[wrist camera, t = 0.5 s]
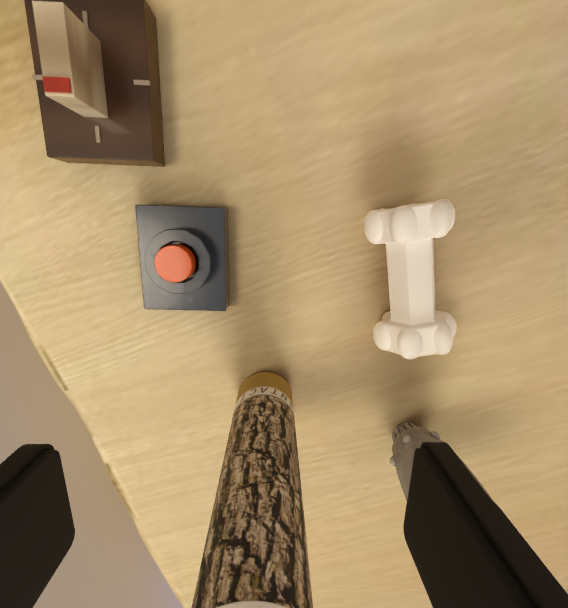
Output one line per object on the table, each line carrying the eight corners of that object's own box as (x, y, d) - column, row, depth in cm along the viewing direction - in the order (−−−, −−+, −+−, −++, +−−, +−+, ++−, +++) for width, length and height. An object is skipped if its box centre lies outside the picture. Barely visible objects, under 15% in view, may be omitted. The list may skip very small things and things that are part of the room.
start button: (159, 243, 31) (152, 244, 29) (195, 244, 31) (191, 245, 29) (161, 279, 32) (155, 282, 30) (197, 280, 32) (192, 283, 30)
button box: (143, 205, 33) (126, 203, 30) (227, 208, 34) (221, 206, 30) (151, 304, 36) (136, 313, 32) (228, 306, 37) (223, 315, 33)
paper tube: (287, 419, 41) (306, 707, 17) (236, 414, 40) (178, 702, 16) (295, 372, 39) (328, 617, 15) (241, 366, 39) (184, 608, 14)
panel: (46, 11, 29) (19, -13, 26) (157, 18, 29) (143, -6, 26) (66, 162, 32) (44, 156, 29) (165, 166, 33) (154, 160, 29)
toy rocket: (372, 415, 41) (514, 693, 17) (434, 406, 41) (665, 672, 17) (377, 463, 43) (509, 773, 19) (436, 454, 43) (645, 755, 19)
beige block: (75, 39, 27) (28, -3, 22) (100, 41, 27) (60, -1, 22) (84, 117, 28) (42, 94, 23) (108, 118, 29) (72, 95, 23)
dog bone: (435, 327, 38) (476, 354, 30) (365, 338, 38) (388, 368, 30) (431, 200, 34) (477, 193, 26) (353, 212, 34) (377, 209, 26)
